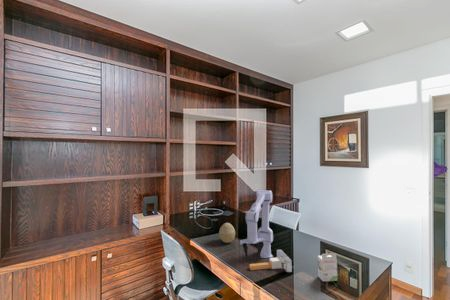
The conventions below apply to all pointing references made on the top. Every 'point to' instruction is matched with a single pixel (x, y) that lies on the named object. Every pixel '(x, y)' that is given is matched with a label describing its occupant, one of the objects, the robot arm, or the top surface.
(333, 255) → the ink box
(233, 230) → the fossilized egg
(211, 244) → the top surface
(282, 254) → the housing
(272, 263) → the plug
